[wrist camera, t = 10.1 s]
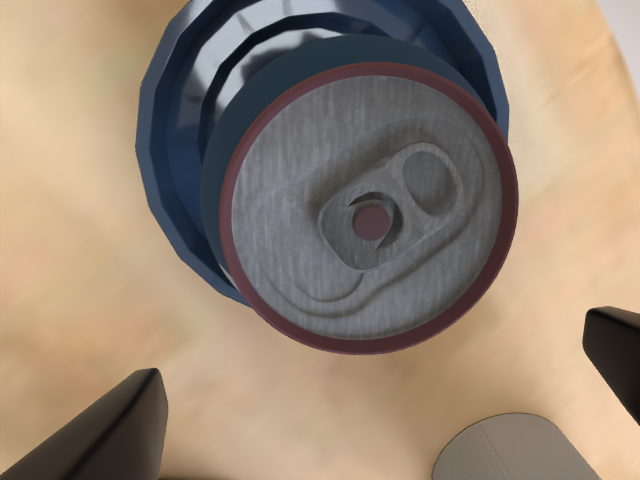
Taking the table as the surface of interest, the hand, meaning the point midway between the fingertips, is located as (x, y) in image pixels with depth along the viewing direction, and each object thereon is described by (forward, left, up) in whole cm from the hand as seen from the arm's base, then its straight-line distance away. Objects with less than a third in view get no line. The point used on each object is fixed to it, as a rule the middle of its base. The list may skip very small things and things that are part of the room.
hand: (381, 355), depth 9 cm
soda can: (-1, +3, -12) cm, 13 cm away
